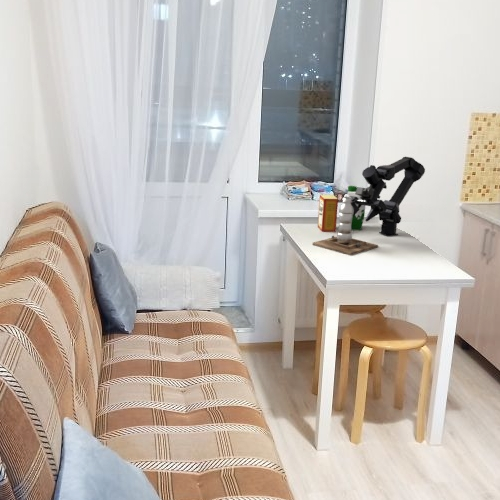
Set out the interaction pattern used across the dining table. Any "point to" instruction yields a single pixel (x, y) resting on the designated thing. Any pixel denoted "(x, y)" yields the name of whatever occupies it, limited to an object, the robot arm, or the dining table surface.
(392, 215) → the robot arm
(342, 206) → the plastic bottle
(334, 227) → the baking soda box
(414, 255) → the dining table surface
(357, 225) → the milk carton
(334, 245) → the walnut bottle stand
